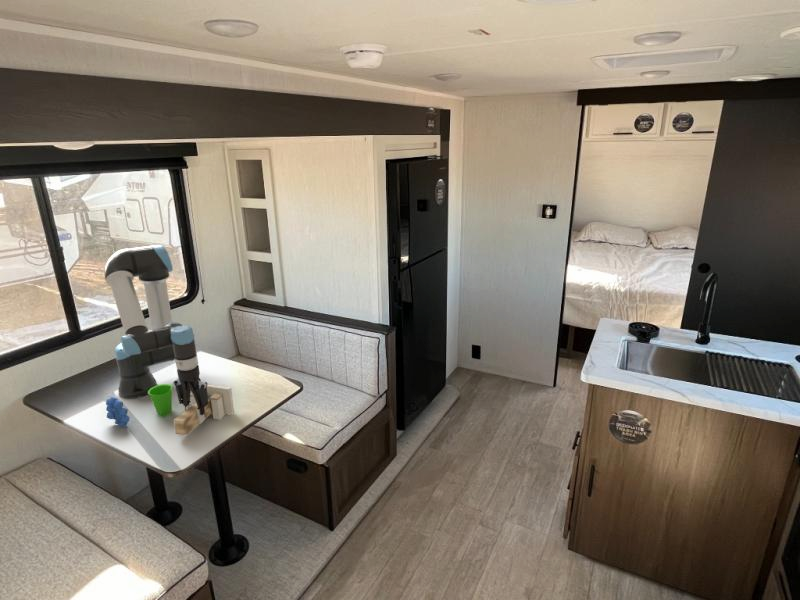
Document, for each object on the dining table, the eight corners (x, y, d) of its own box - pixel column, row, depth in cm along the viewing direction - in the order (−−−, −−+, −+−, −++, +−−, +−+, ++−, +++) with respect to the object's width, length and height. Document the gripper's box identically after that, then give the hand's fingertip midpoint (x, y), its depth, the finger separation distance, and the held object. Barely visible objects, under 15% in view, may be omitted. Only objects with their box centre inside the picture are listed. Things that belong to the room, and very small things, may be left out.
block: (206, 408, 188) (204, 395, 186) (215, 410, 187) (213, 397, 186) (175, 433, 172) (173, 419, 170) (185, 435, 171) (182, 421, 169)
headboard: (187, 414, 188) (183, 388, 184) (196, 407, 193) (192, 382, 189) (226, 421, 184) (222, 394, 180) (234, 413, 189) (231, 387, 185)
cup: (151, 421, 184) (146, 397, 180) (153, 410, 191) (148, 386, 188) (176, 416, 187) (172, 392, 183) (177, 405, 195) (172, 382, 191)
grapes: (100, 426, 180) (93, 399, 176) (117, 417, 186) (111, 391, 182) (119, 434, 175) (112, 407, 171) (135, 425, 181) (130, 398, 177)
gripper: (161, 368, 171) (171, 422, 178) (200, 373, 167) (209, 429, 174) (175, 359, 178) (184, 412, 185) (213, 364, 174) (221, 418, 181)
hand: (196, 420), depth 180 cm, fingers closed on block, 4 cm apart
